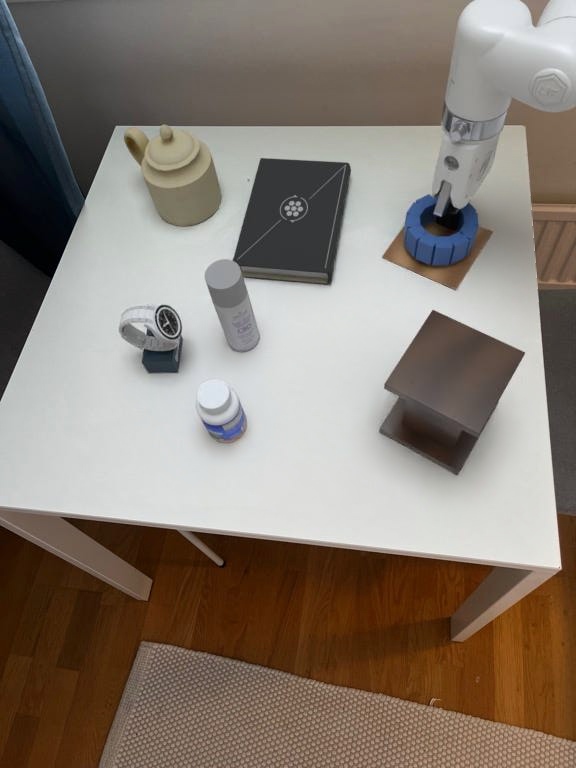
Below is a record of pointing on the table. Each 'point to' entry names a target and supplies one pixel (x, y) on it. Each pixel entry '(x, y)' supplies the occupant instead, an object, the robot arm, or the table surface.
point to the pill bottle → (220, 410)
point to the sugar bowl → (177, 174)
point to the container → (232, 304)
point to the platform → (447, 389)
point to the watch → (155, 336)
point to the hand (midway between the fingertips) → (451, 218)
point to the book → (293, 220)
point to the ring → (433, 246)
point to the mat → (439, 273)
